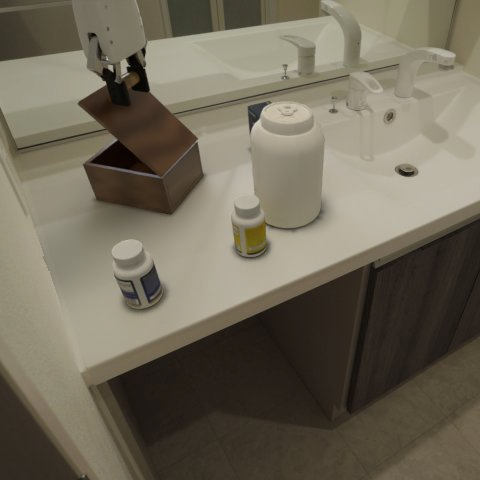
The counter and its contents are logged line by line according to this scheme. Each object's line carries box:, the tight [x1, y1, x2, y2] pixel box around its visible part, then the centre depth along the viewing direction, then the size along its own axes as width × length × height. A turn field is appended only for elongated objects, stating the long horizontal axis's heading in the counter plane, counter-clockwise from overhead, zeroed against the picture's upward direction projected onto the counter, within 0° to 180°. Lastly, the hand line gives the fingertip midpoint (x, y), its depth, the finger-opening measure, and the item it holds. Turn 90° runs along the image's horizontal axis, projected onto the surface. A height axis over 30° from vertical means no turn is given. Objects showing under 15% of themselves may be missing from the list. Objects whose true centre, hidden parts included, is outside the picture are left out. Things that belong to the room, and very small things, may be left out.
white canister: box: [249, 100, 326, 229], centre depth 73 cm, size 12×12×20 cm
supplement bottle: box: [230, 193, 268, 258], centre depth 68 cm, size 5×5×10 cm
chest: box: [82, 137, 204, 215], centre depth 80 cm, size 16×14×8 cm
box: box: [247, 100, 273, 135], centre depth 91 cm, size 8×6×11 cm
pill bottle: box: [110, 238, 164, 310], centre depth 59 cm, size 5×5×10 cm
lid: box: [77, 71, 199, 177], centre depth 72 cm, size 16×14×5 cm
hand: (131, 96), depth 70 cm, fingers closed on lid, 5 cm apart
